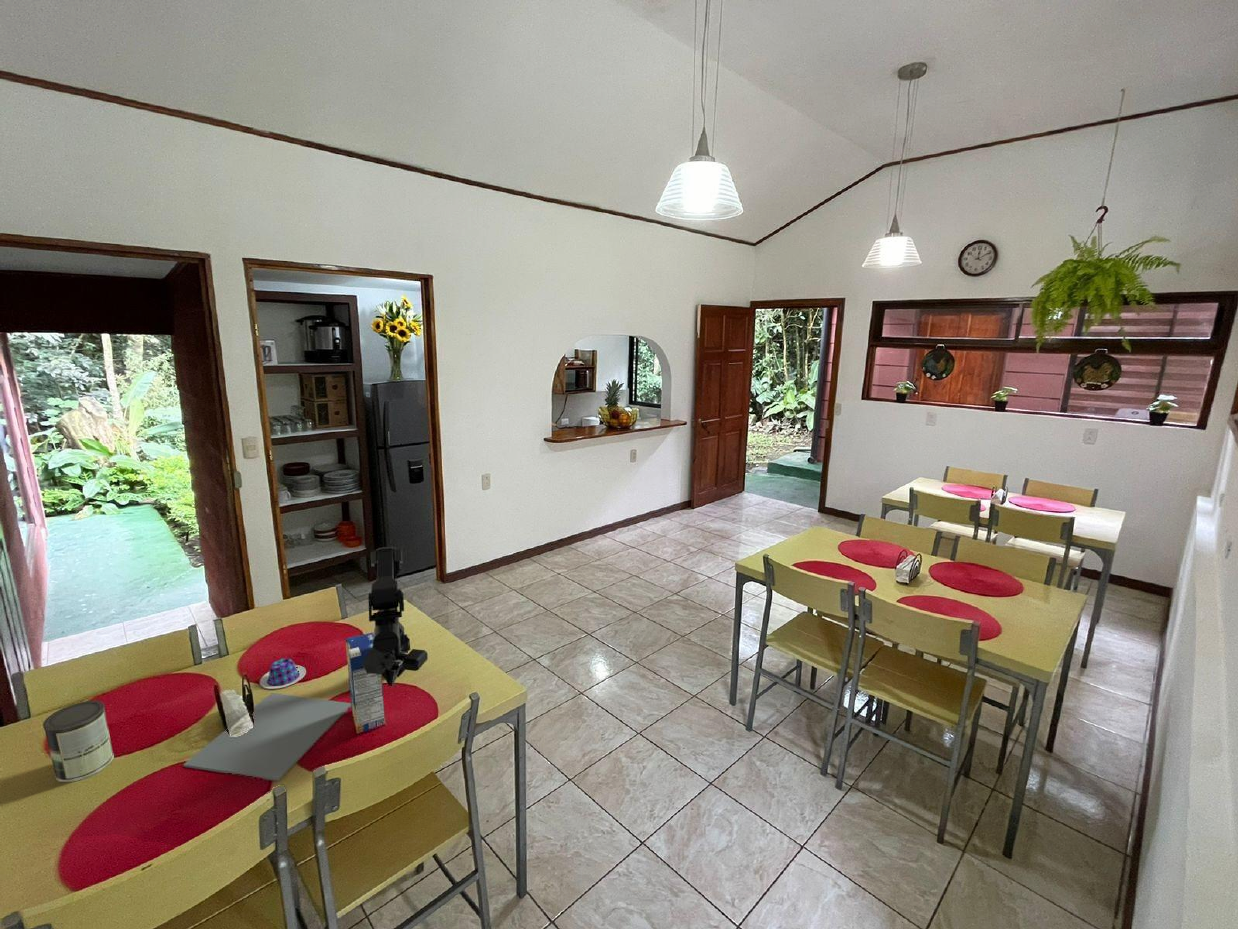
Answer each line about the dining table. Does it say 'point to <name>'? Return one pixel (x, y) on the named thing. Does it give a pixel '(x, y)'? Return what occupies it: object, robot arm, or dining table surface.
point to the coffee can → (78, 740)
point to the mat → (271, 737)
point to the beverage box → (364, 685)
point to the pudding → (282, 674)
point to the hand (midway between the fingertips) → (391, 685)
